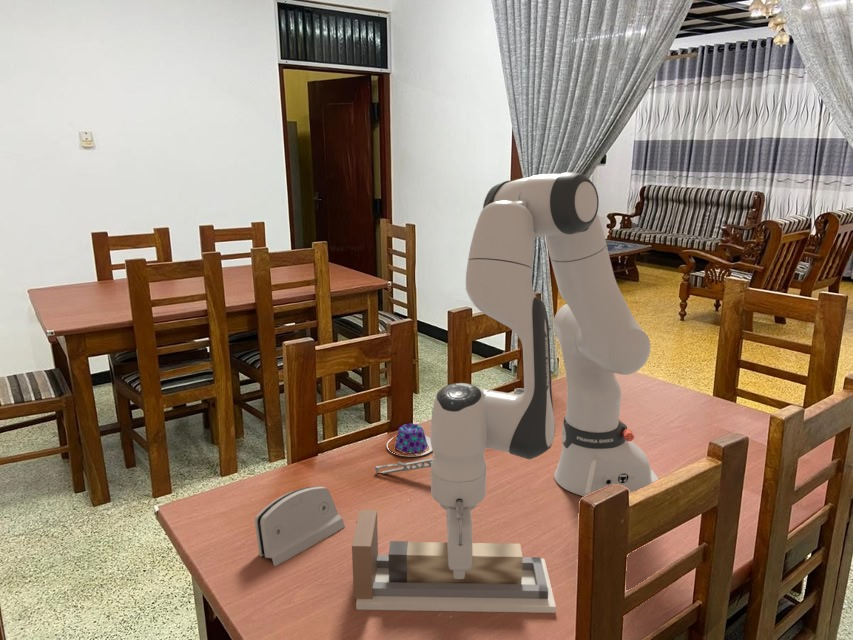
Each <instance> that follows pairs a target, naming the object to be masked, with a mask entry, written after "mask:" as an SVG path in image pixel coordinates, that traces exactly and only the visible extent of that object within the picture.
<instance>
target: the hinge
mask: <svg viewBox="0 0 853 640" xmlns="http://www.w3.org/2000/svg"><path fill="white" fill-rule="evenodd" d="M254 526H255V527H254V528H255V534H256V541H257V542H256V543H257V547H258V555H259V556H260V557H261V558H262V557H264V558H265V559H266V558H267V559H271V560H272V563H273V566H274V567H277V566H279V565H280V564H283V563H284V562H286V561H288V560H290V559H292V558H293V557H295V556H296V555H298V554H300V553H302V552H303V551H305V550H307V549H309V548H311V547H312V546H315V545H316V544H319V541H320V542H322V541H323V540H325V539H327V538H328V537H330V536H332V535H334V534H336V533H338V532H339V531H340V529H341V530H343V529H345V528H346V526H345V523H344V519H343V517H342V516H341V515H340V514H339V512H338V509H337V506H336V504H335V502H334V500H333V497H332V495H331V492H330V490H329V488H327V487H324V486H307V487H303V488H299V489H296V490H294V491H290V492H288V493H284V494H283V495H281V496H279V497H277V498H276V499H275V500H273V501H272V502H270V503H269V504H268V505H267V506H265V507H263V509H262V510H260V512H259V513H258V514H257V515H256V516H255V517H254ZM342 528H343V529H342ZM338 530H339V531H338ZM324 538H325V539H324ZM322 539H323V540H322Z"/></svg>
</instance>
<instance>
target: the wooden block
mask: <svg viewBox="0 0 853 640" xmlns="http://www.w3.org/2000/svg"><path fill="white" fill-rule="evenodd" d="M388 555H389V582H400V583H463V584H521V581H522V561H523V557H524V556H523V552H522V545H521V543H506V542H505V543H501V542H500V543H499V542H498V543H497V542H496V543H495V542H494V543H493V542H472V568H471V569H470V570H465V577H464V578H463V579H455V578H454V577H453V570H450V569H449V567H448V545H447V542H439V541H438V542H437V541H436V542H432V541H431V542H430V541H420V542H419V541H407V540H404V541H403V540H390V541H389V547H388Z"/></svg>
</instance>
